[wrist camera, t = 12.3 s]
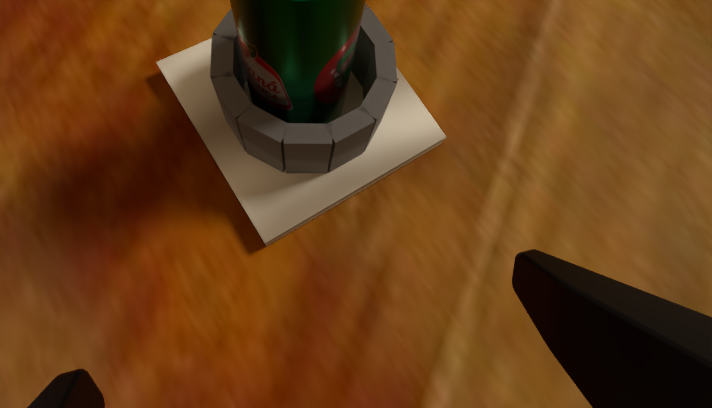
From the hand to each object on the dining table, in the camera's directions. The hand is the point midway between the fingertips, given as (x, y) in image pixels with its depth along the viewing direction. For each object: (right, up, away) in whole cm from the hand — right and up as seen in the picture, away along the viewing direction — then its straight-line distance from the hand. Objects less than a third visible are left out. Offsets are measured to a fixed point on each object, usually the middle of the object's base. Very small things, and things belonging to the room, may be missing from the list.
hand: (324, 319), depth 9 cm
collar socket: (-2, +8, +16) cm, 18 cm away
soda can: (-3, +8, +15) cm, 17 cm away
